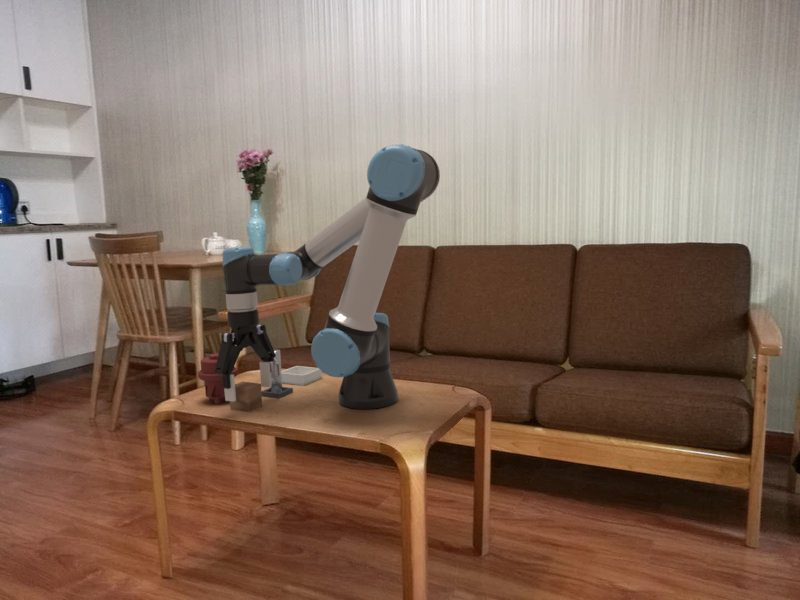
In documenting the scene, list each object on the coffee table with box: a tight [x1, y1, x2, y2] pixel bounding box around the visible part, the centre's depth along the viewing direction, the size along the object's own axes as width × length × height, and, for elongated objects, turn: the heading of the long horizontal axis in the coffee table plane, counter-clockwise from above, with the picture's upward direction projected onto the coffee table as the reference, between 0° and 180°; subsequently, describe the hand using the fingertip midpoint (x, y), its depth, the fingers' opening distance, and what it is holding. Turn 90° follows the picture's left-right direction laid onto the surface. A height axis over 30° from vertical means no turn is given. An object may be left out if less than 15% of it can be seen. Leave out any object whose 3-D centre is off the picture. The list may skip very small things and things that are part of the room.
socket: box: [261, 386, 294, 399], centre depth 169 cm, size 6×6×1 cm
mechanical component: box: [197, 352, 239, 405], centre depth 164 cm, size 12×10×10 cm
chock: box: [229, 381, 263, 413], centre depth 157 cm, size 6×5×6 cm
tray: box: [281, 365, 323, 387], centre depth 183 cm, size 9×9×3 cm
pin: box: [269, 349, 283, 393], centre depth 169 cm, size 3×3×12 cm
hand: (249, 393), depth 157 cm, fingers open, 13 cm apart
